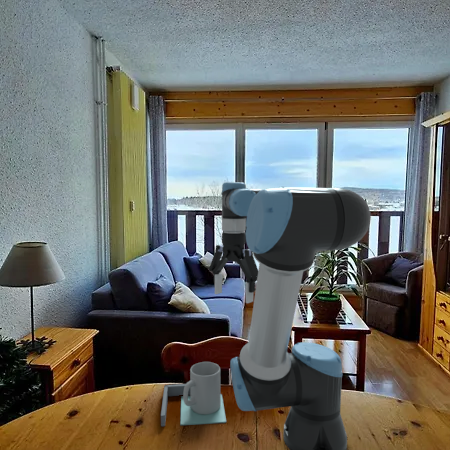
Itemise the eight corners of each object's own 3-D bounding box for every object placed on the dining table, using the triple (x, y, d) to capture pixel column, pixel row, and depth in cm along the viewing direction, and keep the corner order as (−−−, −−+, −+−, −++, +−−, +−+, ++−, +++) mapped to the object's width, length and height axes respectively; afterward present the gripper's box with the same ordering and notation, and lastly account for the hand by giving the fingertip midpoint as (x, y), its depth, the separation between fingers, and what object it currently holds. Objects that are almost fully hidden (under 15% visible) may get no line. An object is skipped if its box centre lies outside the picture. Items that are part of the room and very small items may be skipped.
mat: (221, 395, 110) (221, 394, 110) (226, 422, 98) (226, 421, 97) (181, 397, 109) (181, 396, 109) (180, 425, 96) (180, 424, 96)
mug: (206, 393, 110) (205, 358, 109) (226, 405, 105) (226, 368, 104) (174, 411, 102) (173, 373, 101) (195, 425, 96) (194, 385, 95)
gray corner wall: (216, 391, 112) (216, 382, 112) (220, 423, 97) (220, 412, 97) (164, 394, 111) (164, 385, 110) (161, 426, 96) (160, 415, 96)
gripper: (272, 234, 110) (271, 303, 112) (214, 227, 128) (214, 287, 130) (256, 236, 105) (256, 309, 107) (198, 229, 122) (198, 292, 124)
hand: (233, 297), depth 118 cm, fingers open, 13 cm apart
